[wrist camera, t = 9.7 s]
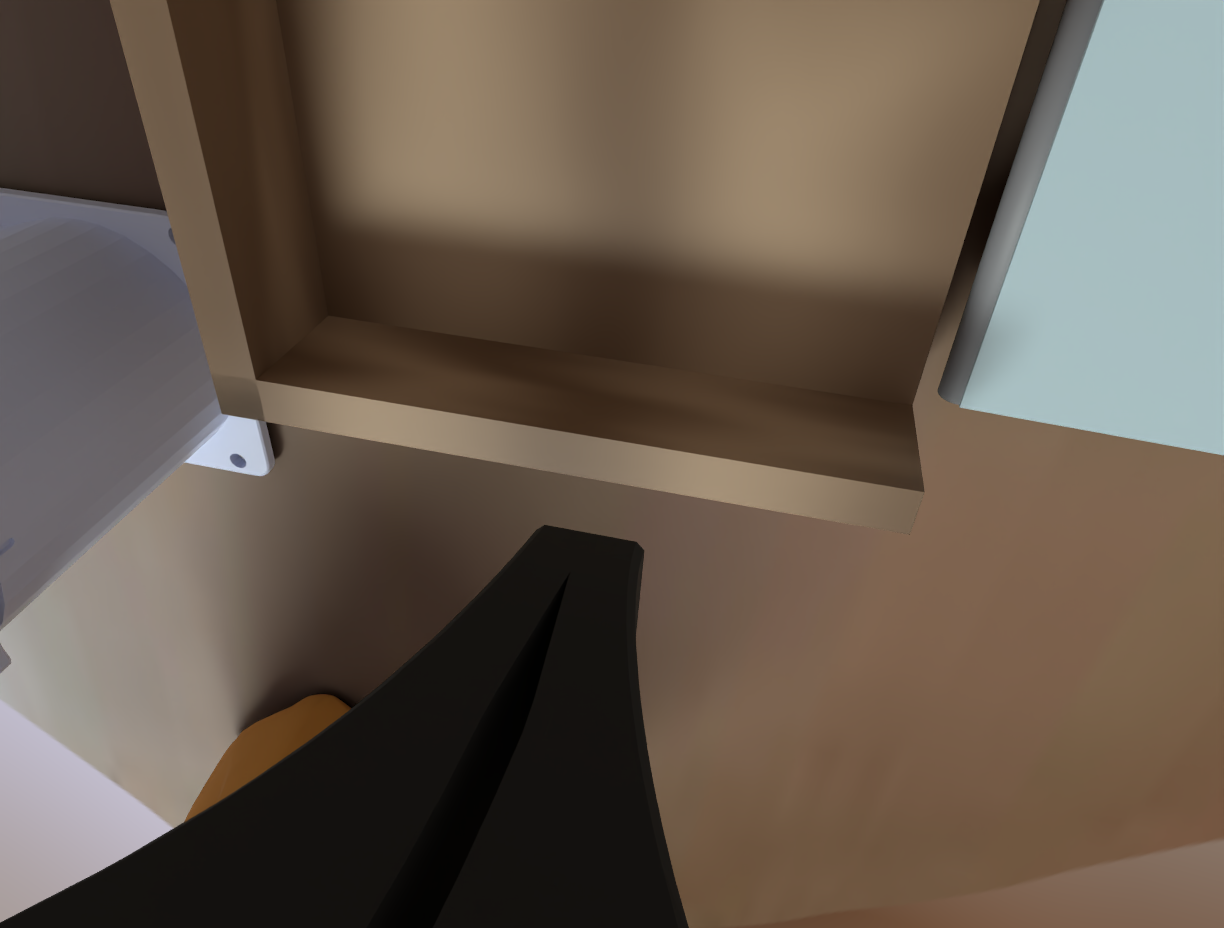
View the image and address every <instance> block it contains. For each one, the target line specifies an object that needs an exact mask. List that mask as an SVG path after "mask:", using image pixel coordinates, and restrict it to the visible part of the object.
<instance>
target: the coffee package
mask: <svg viewBox="0 0 1224 928" xmlns="http://www.w3.org/2000/svg"><path fill="white" fill-rule="evenodd" d="M350 709H351V708H350V707H349V706H348V705H346V704H345V703H344V702H342V701H341V700H339V699H338V698H336V697H335V696H333V695H327V694H318V695H311V696H308V697H306V698H304V699H302V700H301V701H299V702H298V703H296V704H294V705H293V706H291V707H289V708H287V709H284V710H282V711H280V712H277V713H275V714H273V715H271V716H269V717H266V718H264V719H262V720H260V721H258V722H256V723H254V724H253V725H251V726H250V727H248V728H247V729H245V730H243V731H242V732H241V734H240V735H239V736H238V738H237V739H236V740H235V741H234V742H233V743H232V744H231V745H230V747H229V748H228V749H227V751H226V752H225V754H224V755H223V757H222V758H221V760H220V761H219V763H218V764H217V766H216V768H215V769H214V771H213V773H212V774H211V776H210V778H209V779H208V781H207V782H206V784H205V786H204V787H203V789H202V791H201V792H200V794H199V796H198V797H197V799H196V801H195V802H194V804H193V806H192V808H191V810H190V812H189V813H188V815H187V817H186V820H185V821H187V820H189V819H191V818H192V817H194V816H196V815H197V814H199V813H201V812H202V811H204V810H206V809H207V808H209V807H211V806H212V805H214V804H216V803H217V802H219V801H220V800H222V799H224V798H225V797H227V796H228V795H230V794H232V793H233V792H235V791H236V790H238V789H239V788H241V787H242V786H244V785H245V784H247V783H248V782H250V781H251V780H253V779H254V778H256V777H257V776H259V775H260V774H262V773H263V772H265V771H266V770H267V769H269V768H270V767H272V766H273V765H275V764H276V763H278V762H279V761H280V760H282V759H283V758H285V757H286V756H288V755H289V754H291V753H292V752H293V751H295V750H296V749H298V748H299V747H301V746H302V745H304V744H305V743H306V742H308V741H309V740H311V739H312V738H313V737H315V736H316V735H317V734H319V733H320V732H321V731H323V730H324V729H325V728H327V727H328V726H329V725H331V724H332V723H333V722H335V721H336V720H337V719H338V718H340V717H341V716H342V715H344V714H345V713H346V712H348V711H349V710H350Z"/></svg>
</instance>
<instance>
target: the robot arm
mask: <svg viewBox="0 0 1224 928" xmlns="http://www.w3.org/2000/svg"><path fill="white" fill-rule="evenodd" d="M239 455H241V456H242V457H243V458H244V459H243V458H242V457H240V456H239ZM184 462H186V463H191V464H196V465H202V466H207V467H212V468H218V469H223V470H229V471H234V472H239V473H245V474H250V475H256V476H264V475H266V474H268V473H269V472H270V471H271V469H272V468H273V467H274V465H275V459H274V455H273V450H272V446H271V442H270V438H269V433H268V429H267V425H266V422H264V421H258V420H253V419H247V418H241V417H236V416H230V415H224V414H222V413H221V409H220V406H219V402H218V398H217V395H216V391H215V387H214V384H213V380H212V376H211V373H210V369H209V365H208V361H207V358H206V354H205V350H204V347H203V343H202V339H201V336H200V332H199V328H198V325H197V321H196V317H195V314H194V310H193V306H192V302H191V299H190V295H189V291H188V288H187V284H186V280H185V277H184V273H183V269H182V266H181V262H180V258H179V255H178V251H177V247H176V243H175V240H174V236H173V232H172V229H171V225H170V221H169V218H168V214H167V211H165V210H157V209H150V208H143V207H136V206H129V205H121V204H114V203H107V202H100V201H92V200H85V199H78V198H71V197H63V196H56V195H49V194H42V193H35V192H27V191H20V190H13V189H6V188H0V630H2V629H3V628H4V627H5V626H6V625H7V624H8V623H9V622H10V621H11V620H12V619H14V618H15V617H16V616H17V615H18V614H19V613H20V612H21V611H22V610H23V609H24V608H26V607H27V606H28V605H29V604H30V603H31V602H32V601H33V600H34V599H35V598H37V597H38V596H39V595H40V594H41V593H42V592H43V591H44V590H45V589H46V588H47V587H49V586H50V585H51V584H52V583H53V582H54V581H55V580H56V579H57V578H58V577H59V576H61V575H62V574H63V573H64V572H65V571H66V570H67V569H68V568H69V567H70V566H71V565H73V564H74V563H75V562H76V561H77V560H78V559H79V558H80V557H81V556H82V555H84V554H85V553H86V552H87V551H88V550H89V549H90V548H91V547H92V546H93V545H94V544H96V543H97V542H98V541H99V540H100V539H101V538H102V537H103V536H104V535H105V534H106V533H108V532H109V531H110V530H111V529H112V528H113V527H114V526H115V525H116V524H117V523H119V522H120V521H121V520H122V519H123V518H124V517H125V516H126V515H127V514H128V513H129V512H131V511H132V510H133V509H134V508H135V507H136V506H137V505H138V504H139V503H140V502H141V501H143V500H144V499H145V498H146V497H147V496H148V495H149V494H150V493H151V492H152V491H153V490H155V489H156V488H157V487H158V486H159V485H160V484H161V483H162V482H163V481H164V480H166V479H167V478H168V477H169V476H170V475H171V474H172V473H173V472H174V471H175V470H176V469H178V468H179V467H180V466H181V465H182V464H183V463H184ZM643 559H644V550H643V549H642V547H641V546H640V545H639V544H638V543H637V542H634V541H628V540H623V539H618V538H612V537H607V536H601V535H596V534H591V533H585V532H580V531H574V530H569V529H564V528H558V527H553V526H547V525H544V526H542V527H541V528H539V529H537V530H536V531H535V532H534V533H533V535H532V536H531V537H530V538H529V539H528V541H527V542H526V543H525V544H524V545H523V546H522V547H521V549H520V550H519V551H518V552H517V553H516V554H515V555H514V557H513V558H512V559H511V560H510V561H509V562H508V563H507V564H506V565H505V567H504V568H503V569H502V570H501V571H500V572H499V573H498V574H497V575H496V576H495V577H494V578H493V579H492V580H491V581H490V583H489V584H488V585H487V586H486V587H485V588H484V589H483V590H482V591H481V592H480V593H479V594H478V595H477V596H476V597H475V598H474V599H473V600H472V601H471V602H470V603H469V604H468V605H467V606H466V607H465V608H464V609H463V610H462V611H461V612H460V613H459V614H458V615H457V616H456V617H455V618H454V619H453V620H452V621H451V622H450V623H449V624H448V625H447V626H446V627H445V628H444V629H443V630H442V631H440V632H439V633H438V634H437V635H436V636H435V637H434V638H433V639H432V640H431V641H430V642H429V643H428V644H426V645H425V646H424V647H423V648H422V649H421V650H420V651H419V652H417V653H416V654H415V655H414V656H413V657H412V658H411V659H409V660H408V661H407V662H406V663H405V664H404V665H403V666H402V667H400V668H399V669H398V670H397V671H396V672H395V673H394V674H392V675H391V676H390V677H389V678H388V679H387V680H386V681H385V682H383V683H382V684H381V685H380V686H379V687H377V688H376V689H375V690H374V691H372V692H371V693H370V694H369V695H368V696H366V697H365V698H364V699H363V700H361V701H360V702H359V703H358V704H356V705H355V706H354V707H353V708H351V709H350V710H349V711H348V712H346V713H345V714H344V715H342V716H341V717H340V718H338V719H337V720H336V721H335V722H333V723H332V724H331V725H329V726H328V727H327V728H325V729H324V730H323V731H321V732H320V733H319V734H317V735H316V736H315V737H313V738H312V739H311V740H309V741H308V742H306V743H305V744H304V745H302V746H301V747H299V748H298V749H296V750H295V751H293V752H292V753H291V754H289V755H288V756H286V757H285V758H283V759H282V760H280V761H279V762H278V763H276V764H275V765H273V766H272V767H270V768H269V769H267V770H266V771H265V772H263V773H262V774H260V775H259V776H257V777H256V778H254V779H253V780H251V781H250V782H248V783H247V784H245V785H244V786H242V787H241V788H239V789H238V790H236V791H235V792H233V793H232V794H230V795H228V796H227V797H225V798H224V799H222V800H220V801H219V802H217V803H216V804H214V805H212V806H211V807H209V808H207V809H206V810H204V811H202V812H201V813H199V814H197V815H196V816H194V817H192V818H191V819H189V820H187V821H185V822H184V823H182V824H180V825H179V826H177V827H175V828H174V829H172V830H170V831H169V832H167V833H165V834H164V835H162V836H160V837H158V838H157V839H155V840H153V841H152V842H150V843H148V844H147V845H145V846H143V847H142V848H140V849H138V850H137V851H135V852H133V853H132V854H130V855H128V856H126V857H125V858H123V859H121V860H119V861H117V862H116V863H114V864H112V865H110V866H108V867H106V868H105V869H103V870H101V871H99V872H97V873H95V874H94V875H92V876H90V877H88V878H86V879H84V880H82V881H80V882H78V883H76V884H74V885H72V886H70V887H68V888H66V889H65V890H62V891H61V892H59V893H57V894H55V895H53V896H51V897H49V898H47V899H45V900H43V901H41V902H39V903H37V904H35V905H33V906H32V907H30V908H28V909H26V910H24V911H22V912H20V913H18V914H16V915H14V916H12V917H10V918H8V919H6V920H4V921H3V922H1V923H0V928H689V927H688V924H687V920H686V916H685V913H684V909H683V906H682V902H681V899H680V895H679V892H678V888H677V885H676V881H675V877H674V873H673V869H672V865H671V861H670V857H669V852H668V848H667V844H666V840H665V836H664V831H663V827H662V822H661V818H660V813H659V808H658V803H657V799H656V794H655V789H654V784H653V778H652V773H651V767H650V761H649V756H648V750H647V743H646V736H645V729H644V722H643V715H642V708H641V699H640V690H639V679H638V665H637V652H636V628H637V618H638V609H639V599H640V589H641V579H642V569H643ZM10 664H11V659H10V657H9V656H8V654H7V653H6V652H5V650H4V649H3V647H2V646H1V644H0V673H1V672H2V671H3V670H4V669H5V668H7V667H8V666H9V665H10Z"/></svg>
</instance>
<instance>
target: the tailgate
mask: <svg viewBox="0 0 1224 928" xmlns="http://www.w3.org/2000/svg"><path fill="white" fill-rule="evenodd" d="M938 394H939V395H940V396H941V397H942V398H943V399H945V400H946V401H948V402H951V403H954V404H958V405H959V407H960V408H966V409H971V410H977V411H982V412H988V413H993V414H999V415H1004V416H1010V417H1015V418H1021V419H1026V420H1032V421H1037V422H1043V423H1048V424H1054V425H1060V426H1065V427H1071V428H1076V429H1082V430H1087V431H1093V432H1098V433H1104V434H1109V435H1115V436H1120V437H1126V438H1131V439H1137V440H1142V441H1148V442H1153V443H1159V444H1164V445H1170V446H1176V447H1181V448H1187V449H1192V450H1198V451H1203V452H1209V453H1214V454H1220V455H1224V0H1067V2H1066V6H1065V9H1064V12H1063V15H1062V18H1061V21H1060V24H1059V27H1058V30H1057V33H1056V36H1055V39H1054V42H1053V45H1052V48H1051V51H1050V54H1049V57H1048V60H1047V63H1046V66H1045V69H1044V72H1043V75H1042V78H1041V81H1040V84H1039V87H1038V90H1037V93H1036V96H1035V99H1034V102H1033V105H1032V108H1031V111H1030V114H1029V117H1028V120H1027V123H1026V126H1025V129H1024V132H1023V135H1022V138H1021V141H1020V144H1019V147H1018V150H1017V153H1016V156H1015V159H1014V162H1013V165H1012V168H1011V171H1010V174H1009V177H1008V180H1007V183H1006V186H1005V189H1004V192H1003V195H1002V198H1001V201H1000V204H999V207H998V210H997V213H996V216H995V219H994V222H993V225H992V228H991V231H990V234H989V237H988V240H987V243H986V246H985V249H984V252H983V255H982V258H981V261H980V264H979V267H978V270H977V273H976V276H975V279H974V282H973V285H972V288H971V291H970V294H969V297H968V300H967V303H966V306H965V310H964V313H963V316H962V319H961V322H960V325H959V328H958V331H957V334H956V337H955V340H954V343H953V346H952V349H951V352H950V355H949V358H948V361H947V364H946V367H945V370H944V373H943V376H942V379H941V382H940V385H939V388H938Z"/></svg>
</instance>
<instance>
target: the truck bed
mask: <svg viewBox="0 0 1224 928" xmlns="http://www.w3.org/2000/svg"><path fill="white" fill-rule="evenodd" d="M1039 1H1040V0H110V4H111V7H112V11H113V15H114V19H115V22H116V26H117V30H118V33H119V37H120V41H121V44H122V48H123V52H124V55H125V59H126V63H127V66H128V70H129V74H130V78H131V81H132V85H133V89H134V92H135V96H136V100H137V103H138V107H139V111H140V114H141V118H142V122H143V125H144V129H145V133H146V137H147V140H148V144H149V148H150V151H151V155H152V159H153V162H154V166H155V170H156V173H157V177H158V181H159V184H160V188H161V192H162V196H163V199H164V203H165V207H166V210H167V214H168V218H169V221H170V225H171V229H172V232H173V236H174V240H175V243H176V247H177V251H178V255H179V258H180V262H181V266H182V269H183V273H184V277H185V280H186V284H187V288H188V291H189V295H190V299H191V302H192V306H193V310H194V314H195V317H196V321H197V325H198V328H199V332H200V336H201V339H202V343H203V347H204V350H205V354H206V358H207V361H208V365H209V369H210V373H211V376H212V380H213V384H214V387H215V391H216V395H217V398H218V402H219V406H220V409H221V413H222V414H224V415H230V416H236V417H241V418H247V419H253V420H258V421H264V422H270V423H276V424H281V425H287V426H293V427H298V428H304V429H310V430H315V431H321V432H327V433H333V434H338V435H344V436H350V437H355V438H361V439H367V440H373V441H378V442H384V443H390V444H395V445H401V446H407V447H412V448H418V449H424V450H430V451H435V452H441V453H447V454H452V455H458V456H464V457H469V458H475V459H481V460H487V461H492V462H498V463H504V464H509V465H515V466H521V467H526V468H532V469H538V470H544V471H549V472H555V473H561V474H566V475H572V476H578V477H584V478H589V479H595V480H601V481H606V482H612V483H618V484H623V485H629V486H635V487H641V488H646V489H652V490H658V491H663V492H669V493H675V494H680V495H686V496H692V497H698V498H703V499H709V500H715V501H720V502H726V503H732V504H737V505H743V506H749V507H755V508H760V509H766V510H772V511H777V512H783V513H789V514H795V515H800V516H806V517H812V518H817V519H823V520H829V521H834V522H840V523H846V524H852V525H857V526H863V527H869V528H874V529H880V530H886V531H891V532H897V533H903V534H909V535H910V532H911V529H912V527H913V524H914V521H915V518H916V515H917V512H918V509H919V507H920V504H921V501H922V498H923V495H924V485H923V478H922V471H921V464H920V457H919V450H918V443H917V435H916V428H915V421H914V414H913V407H912V405H913V401H914V398H915V395H916V392H917V389H918V386H919V382H920V379H921V376H922V373H923V370H924V366H925V363H926V360H927V357H928V354H929V351H930V347H931V344H932V341H933V338H934V335H935V332H936V328H937V325H938V322H939V319H940V316H941V312H942V309H943V306H944V303H945V300H946V297H947V293H948V290H949V287H950V284H951V281H952V278H953V274H954V271H955V268H956V265H957V262H958V259H959V255H960V252H961V249H962V246H963V243H964V239H965V236H966V233H967V230H968V227H969V224H970V220H971V217H972V214H973V211H974V208H975V205H976V201H977V198H978V195H979V192H980V189H981V186H982V182H983V179H984V176H985V173H986V170H987V166H988V163H989V160H990V157H991V154H992V151H993V147H994V144H995V141H996V138H997V135H998V132H999V128H1000V125H1001V122H1002V119H1003V116H1004V112H1005V109H1006V106H1007V103H1008V100H1009V97H1010V93H1011V90H1012V87H1013V84H1014V81H1015V78H1016V74H1017V71H1018V68H1019V65H1020V62H1021V59H1022V55H1023V52H1024V49H1025V46H1026V43H1027V39H1028V36H1029V33H1030V30H1031V27H1032V24H1033V20H1034V17H1035V14H1036V11H1037V8H1038V5H1039Z"/></svg>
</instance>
